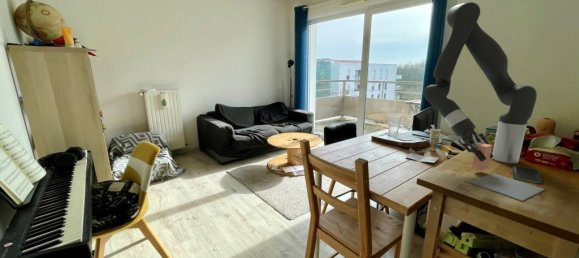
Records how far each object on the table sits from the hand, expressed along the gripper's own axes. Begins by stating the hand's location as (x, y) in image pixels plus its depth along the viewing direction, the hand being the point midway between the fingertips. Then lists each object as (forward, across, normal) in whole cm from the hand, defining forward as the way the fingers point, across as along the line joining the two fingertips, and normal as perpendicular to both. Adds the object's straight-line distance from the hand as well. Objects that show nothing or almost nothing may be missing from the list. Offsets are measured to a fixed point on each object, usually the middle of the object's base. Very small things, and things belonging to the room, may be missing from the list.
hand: (487, 158), depth 96 cm
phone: (+11, +13, -1) cm, 17 cm away
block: (+2, 0, +4) cm, 5 cm away
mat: (+11, -5, -2) cm, 12 cm away
